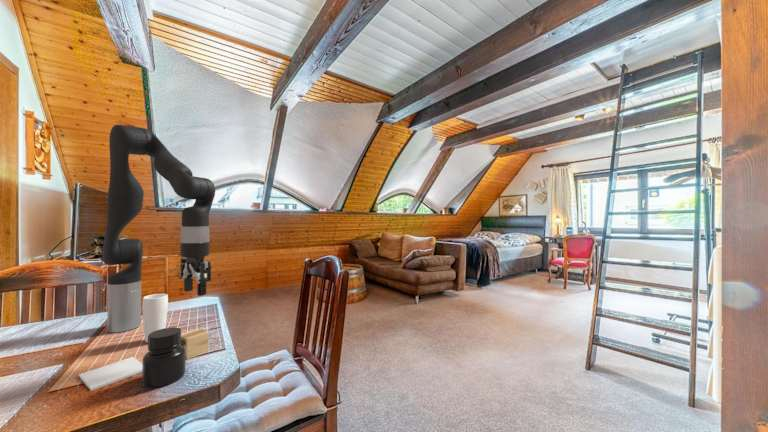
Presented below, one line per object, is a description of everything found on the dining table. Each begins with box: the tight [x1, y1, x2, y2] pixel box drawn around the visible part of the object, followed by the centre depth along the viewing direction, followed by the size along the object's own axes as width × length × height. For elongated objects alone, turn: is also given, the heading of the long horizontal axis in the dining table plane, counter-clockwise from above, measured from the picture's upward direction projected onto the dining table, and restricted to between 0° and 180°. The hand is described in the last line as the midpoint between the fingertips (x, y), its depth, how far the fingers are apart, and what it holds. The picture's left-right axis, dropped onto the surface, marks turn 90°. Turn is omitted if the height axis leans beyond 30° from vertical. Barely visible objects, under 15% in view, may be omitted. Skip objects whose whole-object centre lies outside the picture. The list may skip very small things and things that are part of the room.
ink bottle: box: [141, 326, 186, 389], centre depth 73 cm, size 10×9×12 cm
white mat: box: [78, 356, 142, 392], centre depth 75 cm, size 11×11×1 cm
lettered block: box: [180, 328, 210, 360], centre depth 87 cm, size 6×7×6 cm
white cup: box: [141, 293, 169, 344], centre depth 95 cm, size 7×7×15 cm
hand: (194, 293), depth 87 cm, fingers open, 8 cm apart
